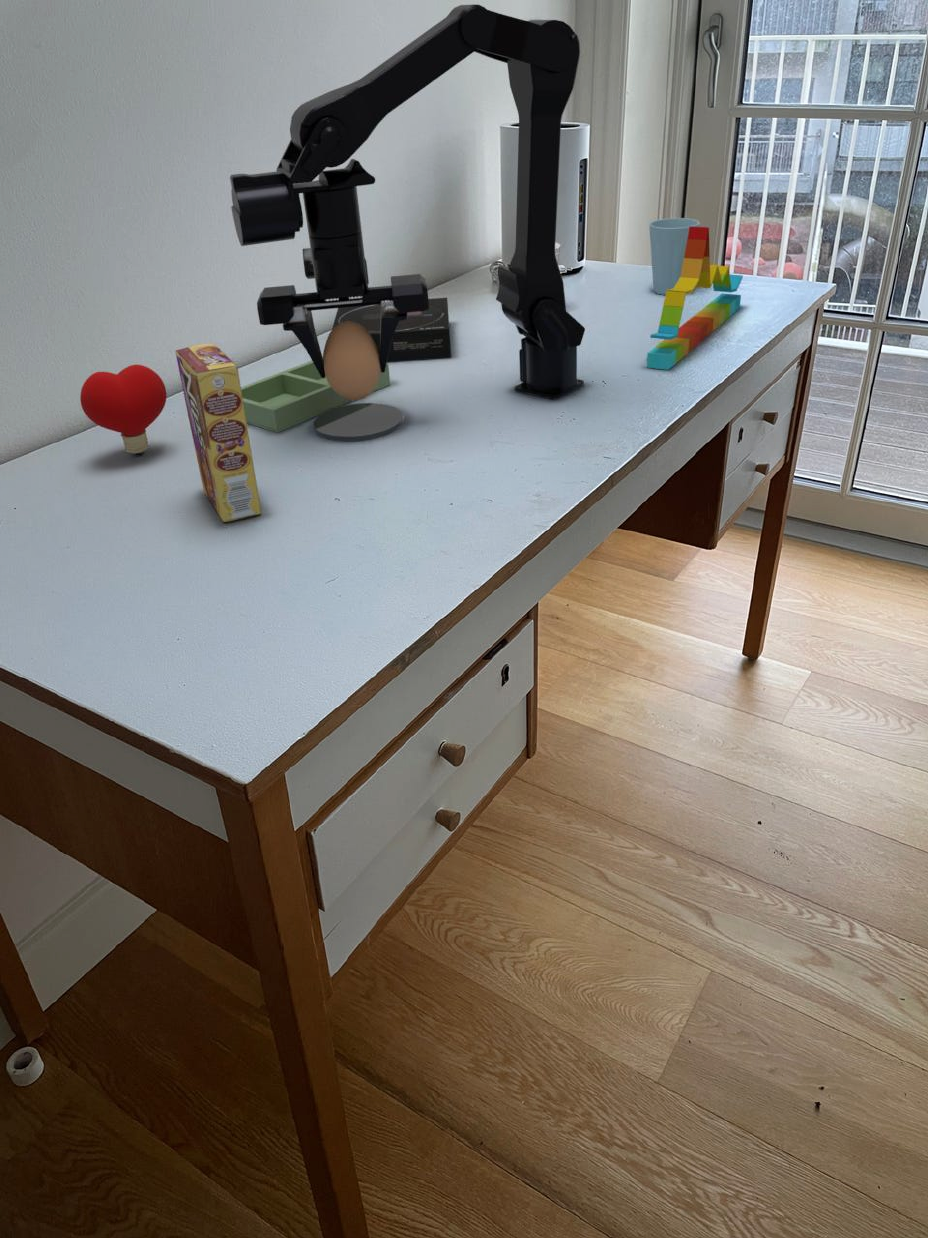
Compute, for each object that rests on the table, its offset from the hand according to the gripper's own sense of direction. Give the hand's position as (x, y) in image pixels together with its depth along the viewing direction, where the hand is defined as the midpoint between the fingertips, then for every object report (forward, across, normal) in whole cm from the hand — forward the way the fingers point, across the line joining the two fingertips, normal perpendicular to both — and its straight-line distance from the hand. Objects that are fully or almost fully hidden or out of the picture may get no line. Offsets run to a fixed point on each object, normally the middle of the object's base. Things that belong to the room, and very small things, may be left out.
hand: (353, 374), depth 114 cm
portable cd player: (+6, -5, -31) cm, 32 cm away
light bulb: (+6, +26, +4) cm, 27 cm away
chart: (+6, -47, -22) cm, 53 cm away
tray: (+6, +6, -10) cm, 13 cm away
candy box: (+6, +13, +19) cm, 24 cm away
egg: (+3, 0, 0) cm, 3 cm away
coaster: (+6, 0, 0) cm, 6 cm away
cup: (+7, -50, -47) cm, 69 cm away
